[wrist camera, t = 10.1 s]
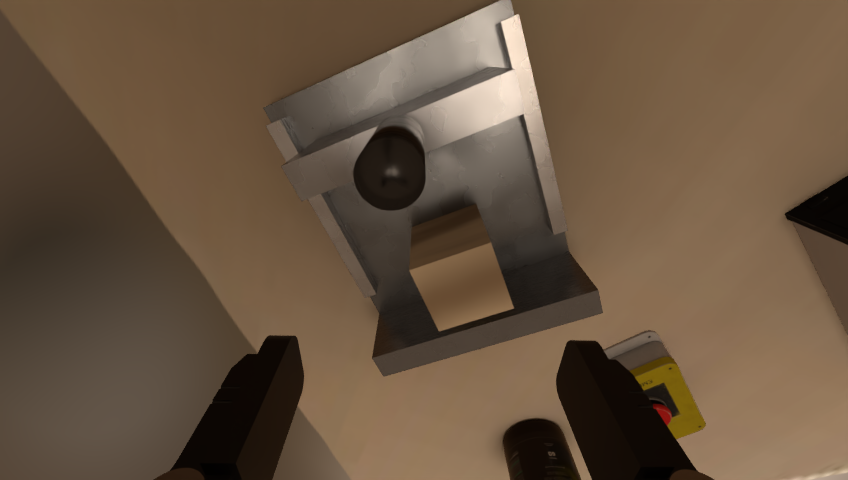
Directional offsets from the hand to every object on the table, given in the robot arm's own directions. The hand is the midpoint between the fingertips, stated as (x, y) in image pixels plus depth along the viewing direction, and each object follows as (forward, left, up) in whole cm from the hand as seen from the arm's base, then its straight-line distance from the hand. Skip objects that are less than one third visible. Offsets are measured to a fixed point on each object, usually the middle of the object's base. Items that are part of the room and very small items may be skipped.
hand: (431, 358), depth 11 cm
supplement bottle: (+32, 0, -18) cm, 37 cm away
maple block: (+5, 0, -16) cm, 16 cm away
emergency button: (+29, +12, -18) cm, 36 cm away
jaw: (-5, 0, -16) cm, 16 cm away
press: (+1, 0, -17) cm, 17 cm away
